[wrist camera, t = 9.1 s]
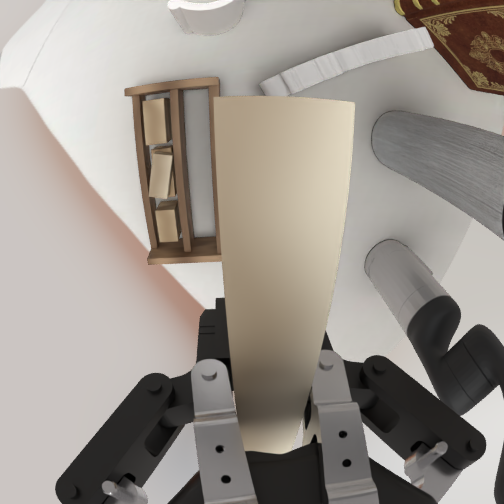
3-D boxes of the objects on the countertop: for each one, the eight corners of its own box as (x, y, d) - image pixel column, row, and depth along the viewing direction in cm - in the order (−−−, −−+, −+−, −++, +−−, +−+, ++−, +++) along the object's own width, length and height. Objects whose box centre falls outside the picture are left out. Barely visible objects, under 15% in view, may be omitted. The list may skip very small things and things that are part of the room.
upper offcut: (175, 153, 36) (172, 155, 34) (169, 194, 38) (166, 199, 37) (156, 151, 35) (153, 153, 33) (152, 192, 38) (148, 196, 36)
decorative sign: (266, 99, 37) (274, 104, 25) (258, 84, 36) (261, 81, 24) (395, 50, 31) (450, 44, 19) (388, 36, 30) (441, 23, 17)
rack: (219, 81, 33) (218, 76, 28) (226, 241, 46) (226, 261, 41) (138, 90, 33) (124, 88, 28) (156, 245, 45) (148, 264, 40)
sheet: (266, 102, 15) (355, 102, 4) (263, 335, 23) (284, 469, 13) (223, 103, 14) (213, 97, 4) (235, 337, 23) (244, 473, 13)
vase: (375, 173, 42) (495, 259, 19) (365, 114, 37) (506, 153, 14) (421, 163, 41) (541, 232, 18) (415, 107, 36) (551, 145, 13)
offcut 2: (178, 200, 42) (174, 209, 38) (181, 229, 44) (178, 241, 41) (160, 201, 42) (155, 210, 38) (164, 230, 44) (159, 242, 41)
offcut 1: (170, 98, 34) (163, 98, 30) (172, 138, 37) (166, 142, 33) (151, 101, 34) (142, 101, 30) (154, 140, 37) (146, 145, 33)
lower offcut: (174, 144, 38) (170, 147, 35) (178, 190, 41) (175, 196, 39) (156, 146, 38) (151, 150, 35) (160, 191, 41) (156, 197, 38)
